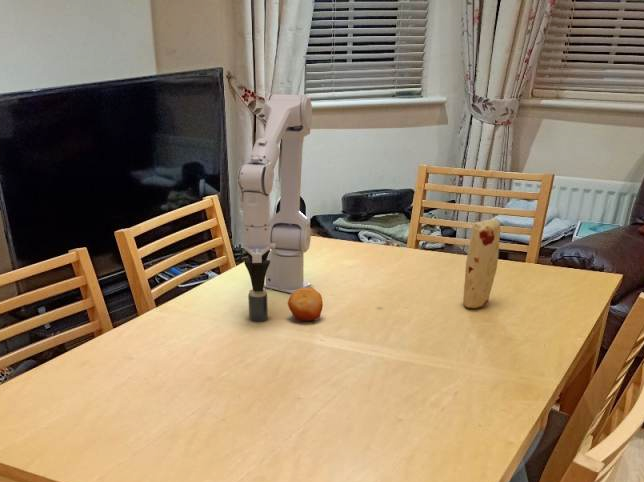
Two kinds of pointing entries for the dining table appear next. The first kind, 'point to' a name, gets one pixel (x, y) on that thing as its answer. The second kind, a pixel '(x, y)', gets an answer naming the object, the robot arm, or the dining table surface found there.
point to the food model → (481, 262)
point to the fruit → (305, 304)
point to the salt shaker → (258, 306)
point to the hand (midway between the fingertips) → (258, 285)
